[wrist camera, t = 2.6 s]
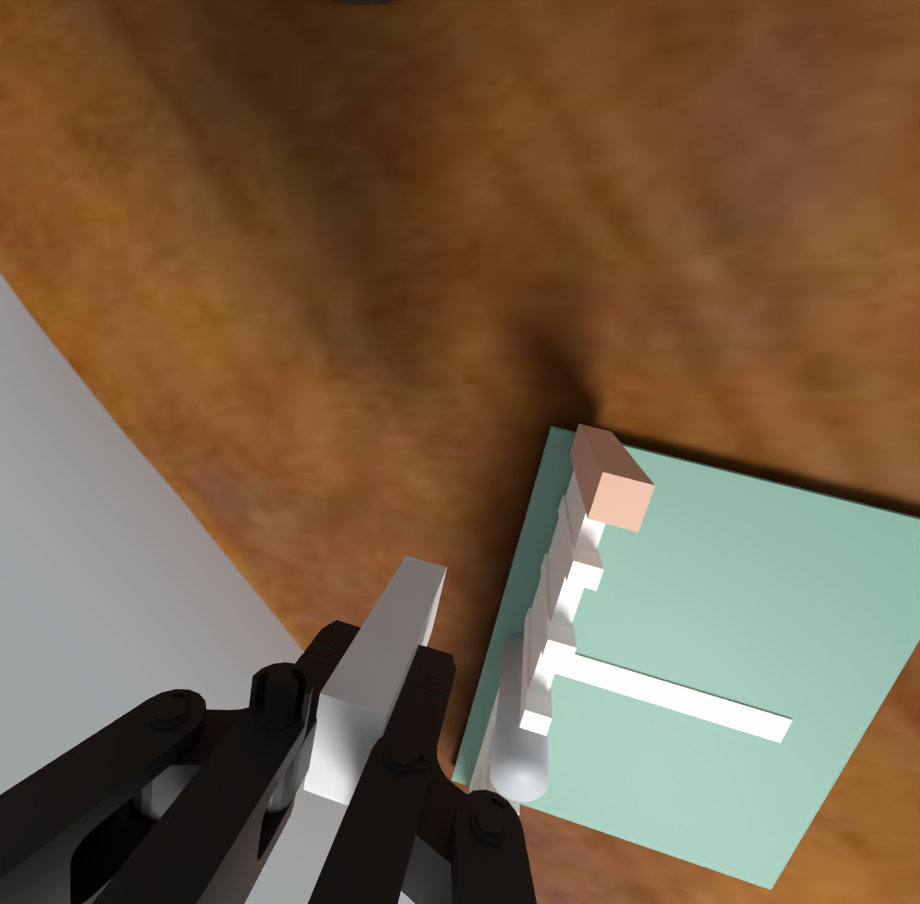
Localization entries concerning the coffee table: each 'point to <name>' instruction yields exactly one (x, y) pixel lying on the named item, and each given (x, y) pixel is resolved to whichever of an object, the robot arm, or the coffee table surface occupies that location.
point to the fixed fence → (513, 740)
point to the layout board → (712, 659)
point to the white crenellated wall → (576, 560)
